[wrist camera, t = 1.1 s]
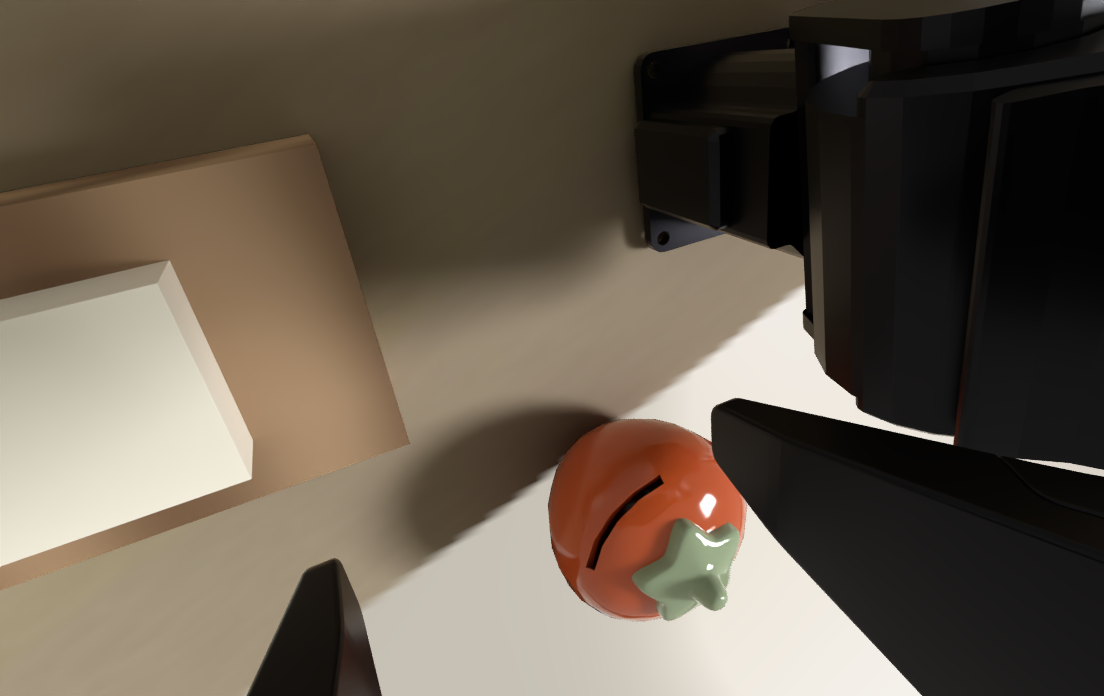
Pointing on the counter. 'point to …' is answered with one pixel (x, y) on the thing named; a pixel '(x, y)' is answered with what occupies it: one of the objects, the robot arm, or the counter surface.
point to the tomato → (645, 521)
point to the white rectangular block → (108, 409)
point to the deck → (225, 307)
